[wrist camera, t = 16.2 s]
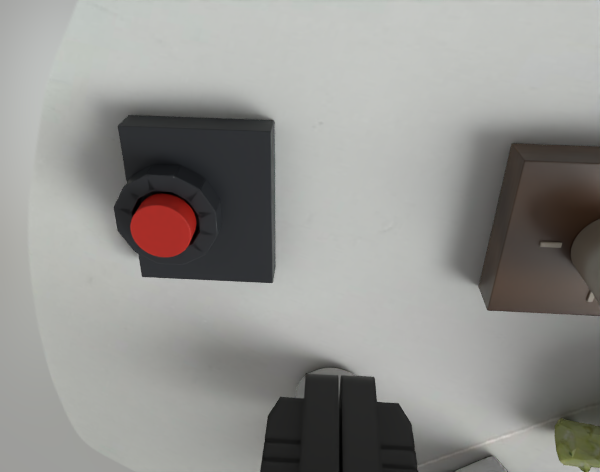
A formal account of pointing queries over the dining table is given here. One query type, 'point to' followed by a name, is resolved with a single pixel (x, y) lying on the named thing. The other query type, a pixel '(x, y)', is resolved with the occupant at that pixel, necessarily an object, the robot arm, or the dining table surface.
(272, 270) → the button block
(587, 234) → the knob
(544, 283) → the panel
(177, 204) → the button
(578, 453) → the vegetable
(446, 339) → the dining table surface
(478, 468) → the juice carton
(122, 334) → the dining table surface
